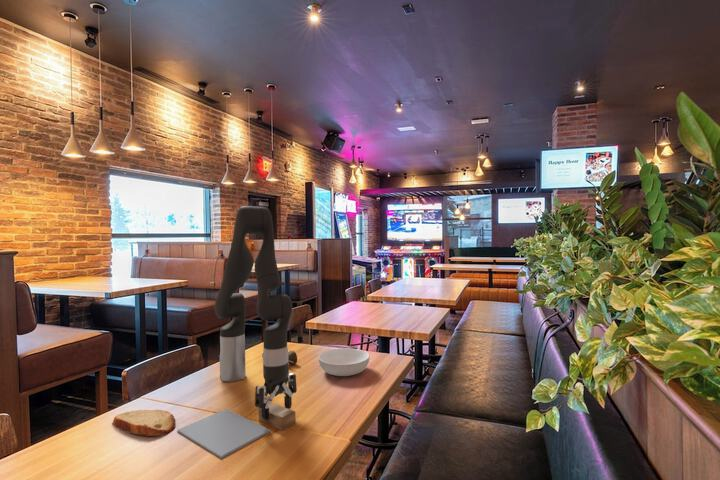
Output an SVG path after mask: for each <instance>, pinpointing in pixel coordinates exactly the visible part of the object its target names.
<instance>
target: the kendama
mask: <svg viewBox="0 0 720 480" xmlns="http://www.w3.org/2000/svg"><path fill="white" fill-rule="evenodd" d="M261 356H262V358H263V353H262V355H261ZM288 363H289V364H290V365H296V364H297V363H298V355H297V353H296V351H294V350H290V351H289V350H288Z"/></svg>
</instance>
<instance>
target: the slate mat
mask: <svg viewBox="0 0 720 480" xmlns="http://www.w3.org/2000/svg"><path fill="white" fill-rule="evenodd" d="M176 432H177V433H179V434H180V435H181V436H184V437H186V439H189V440H190V441H192V442H193V443H195V444H197V445H198V446H200V447H201V448H203V449H204V450H206V451H208V452H210V453H211V454H213V455H214V456H216V457H218V458H219V459H223V458H226V457H227V456H228V455H229V456H230V455H231V454H232V453H234V452H235V451H238V450H240V449H242V448H244V447H245V446H248V444H251V443H252V442H254V441H256V440H259V439H260V438H262V437H263V436H265V435H267V434H269V433H271V429H269V428H267V427H266V426H264V425H261V424H259V423H257V422H254V421H253V420H251V419H249V418H246V417H244V416H242V415H240V414H238V413H237V412H236V413H235V412H234V411H231V410H230V409H227V408H224V409H222V410H219V411H218V412H215V413H212V414H211V415H208V416H206V417H203V418H201V419H199V420H197V421H194V422H192V423H189V424H188V425H186V426H183V427H180V428H178V429H177V431H176Z"/></svg>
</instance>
